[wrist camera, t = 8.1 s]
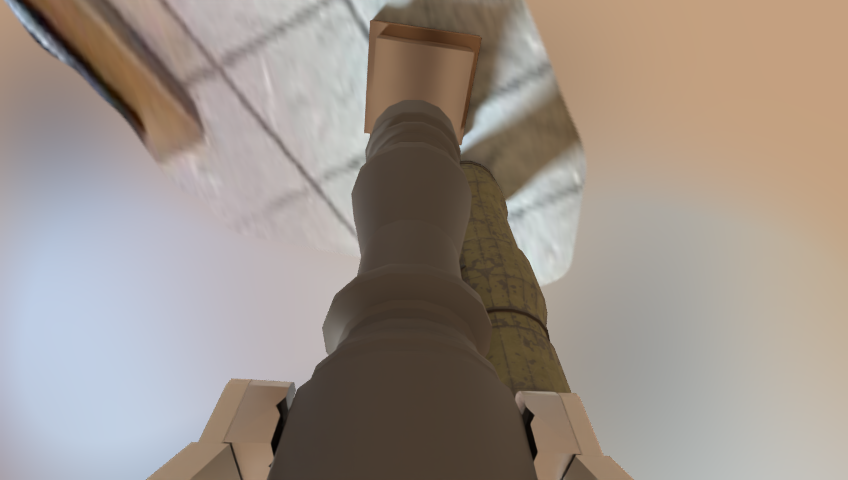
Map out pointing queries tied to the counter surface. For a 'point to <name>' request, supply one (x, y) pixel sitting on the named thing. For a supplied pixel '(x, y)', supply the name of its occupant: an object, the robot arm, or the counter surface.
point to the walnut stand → (420, 70)
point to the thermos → (507, 292)
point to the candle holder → (406, 333)
